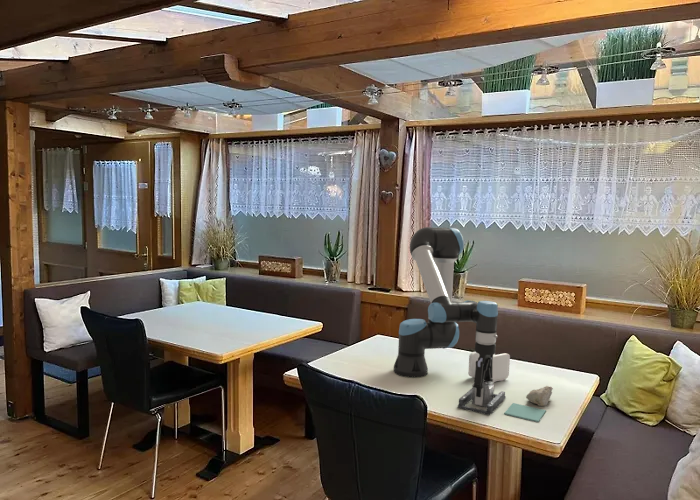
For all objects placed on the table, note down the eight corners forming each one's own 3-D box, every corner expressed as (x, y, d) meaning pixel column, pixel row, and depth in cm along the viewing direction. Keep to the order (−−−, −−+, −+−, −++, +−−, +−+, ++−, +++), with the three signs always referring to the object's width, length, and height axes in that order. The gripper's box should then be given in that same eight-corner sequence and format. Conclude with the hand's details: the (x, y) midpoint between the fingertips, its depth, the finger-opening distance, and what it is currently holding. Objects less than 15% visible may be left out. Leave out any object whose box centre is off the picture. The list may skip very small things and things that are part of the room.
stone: (524, 409, 205) (521, 390, 200) (538, 388, 212) (535, 369, 208) (544, 416, 200) (540, 396, 195) (557, 394, 207) (554, 375, 203)
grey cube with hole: (470, 403, 200) (472, 382, 199) (476, 398, 205) (477, 378, 204) (488, 407, 196) (489, 386, 196) (493, 402, 201) (494, 381, 201)
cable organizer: (485, 385, 221) (487, 358, 220) (466, 378, 230) (468, 351, 229) (509, 379, 230) (510, 353, 229) (490, 372, 238) (491, 347, 237)
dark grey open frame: (457, 407, 195) (457, 399, 195) (475, 392, 212) (475, 384, 212) (489, 415, 189) (490, 407, 189) (505, 398, 206) (505, 390, 206)
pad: (504, 414, 190) (504, 412, 190) (512, 404, 201) (513, 402, 200) (538, 422, 184) (538, 420, 184) (545, 411, 194) (545, 410, 194)
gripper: (486, 350, 188) (483, 412, 190) (503, 338, 206) (499, 395, 207) (466, 346, 192) (463, 407, 194) (484, 335, 209) (481, 391, 211)
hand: (482, 401), depth 201 cm, fingers open, 8 cm apart
